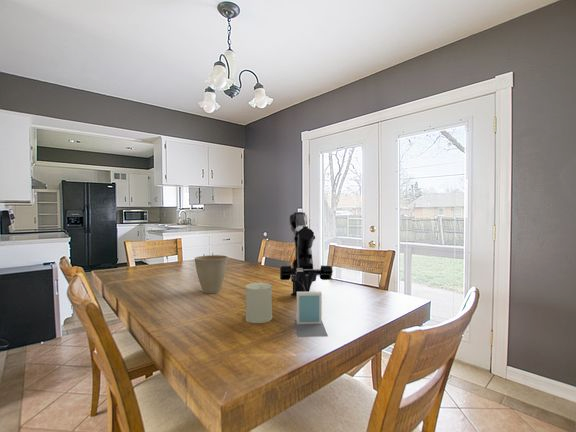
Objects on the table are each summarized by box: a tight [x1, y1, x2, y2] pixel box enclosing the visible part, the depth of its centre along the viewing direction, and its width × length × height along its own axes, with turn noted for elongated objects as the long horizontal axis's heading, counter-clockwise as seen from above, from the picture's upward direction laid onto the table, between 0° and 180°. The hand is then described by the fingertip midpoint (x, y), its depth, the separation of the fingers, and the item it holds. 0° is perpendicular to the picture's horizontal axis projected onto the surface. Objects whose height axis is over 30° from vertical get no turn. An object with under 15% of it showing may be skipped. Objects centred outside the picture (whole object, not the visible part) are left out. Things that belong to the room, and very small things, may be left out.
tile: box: [296, 290, 323, 324], centre depth 95 cm, size 2×8×10 cm, turn 92°
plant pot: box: [194, 254, 229, 295], centre depth 134 cm, size 15×15×16 cm
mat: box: [294, 319, 329, 338], centre depth 91 cm, size 13×9×1 cm
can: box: [245, 282, 273, 324], centre depth 100 cm, size 9×9×12 cm
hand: (307, 293), depth 100 cm, fingers closed
